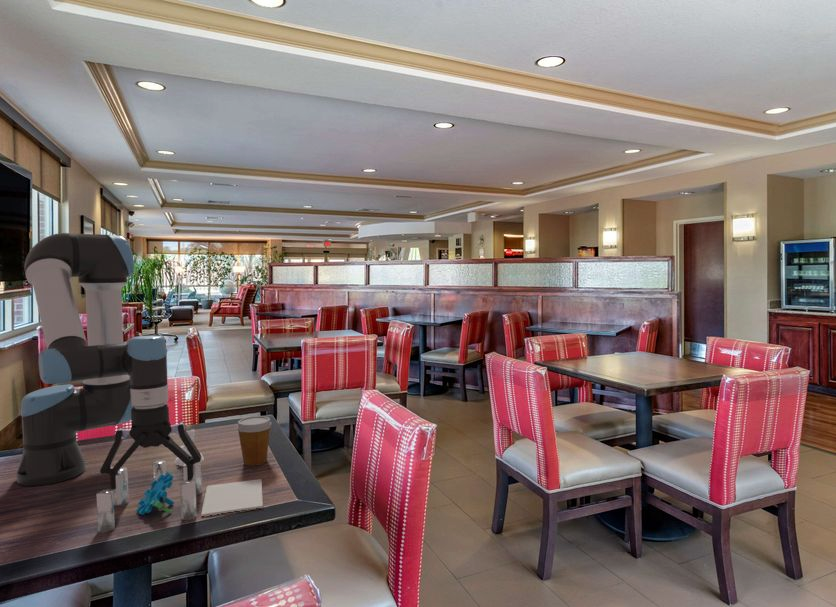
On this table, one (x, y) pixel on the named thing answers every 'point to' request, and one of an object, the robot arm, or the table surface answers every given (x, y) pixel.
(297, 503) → the table surface
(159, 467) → the spacer posts
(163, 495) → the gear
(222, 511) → the rubber mat
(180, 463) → the hook
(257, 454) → the disposable coffee cup
